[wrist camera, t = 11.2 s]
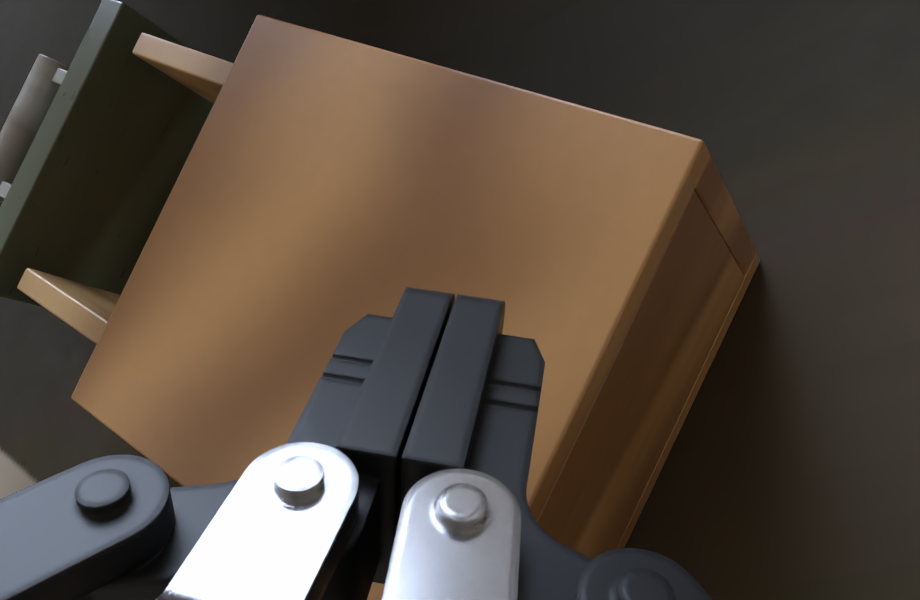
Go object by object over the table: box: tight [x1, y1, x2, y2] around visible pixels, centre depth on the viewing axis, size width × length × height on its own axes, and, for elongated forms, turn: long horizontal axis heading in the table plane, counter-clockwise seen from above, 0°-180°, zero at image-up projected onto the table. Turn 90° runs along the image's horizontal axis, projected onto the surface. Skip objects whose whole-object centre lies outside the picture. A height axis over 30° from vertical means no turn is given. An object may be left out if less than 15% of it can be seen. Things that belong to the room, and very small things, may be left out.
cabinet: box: [71, 15, 760, 600], centre depth 23 cm, size 14×12×9 cm
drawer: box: [0, 0, 234, 345], centre depth 29 cm, size 18×11×7 cm, turn 62°
